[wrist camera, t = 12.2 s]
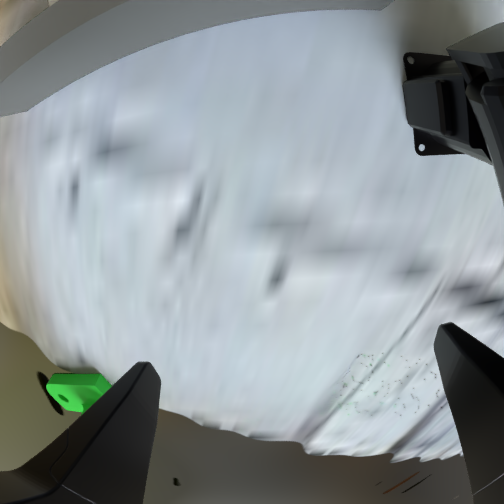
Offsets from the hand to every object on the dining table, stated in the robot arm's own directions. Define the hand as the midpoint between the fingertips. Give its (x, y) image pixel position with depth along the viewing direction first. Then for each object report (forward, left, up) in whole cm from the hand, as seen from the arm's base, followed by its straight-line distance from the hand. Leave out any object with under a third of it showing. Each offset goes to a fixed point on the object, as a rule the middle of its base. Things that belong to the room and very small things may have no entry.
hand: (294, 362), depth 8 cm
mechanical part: (+27, +18, -11) cm, 35 cm away
